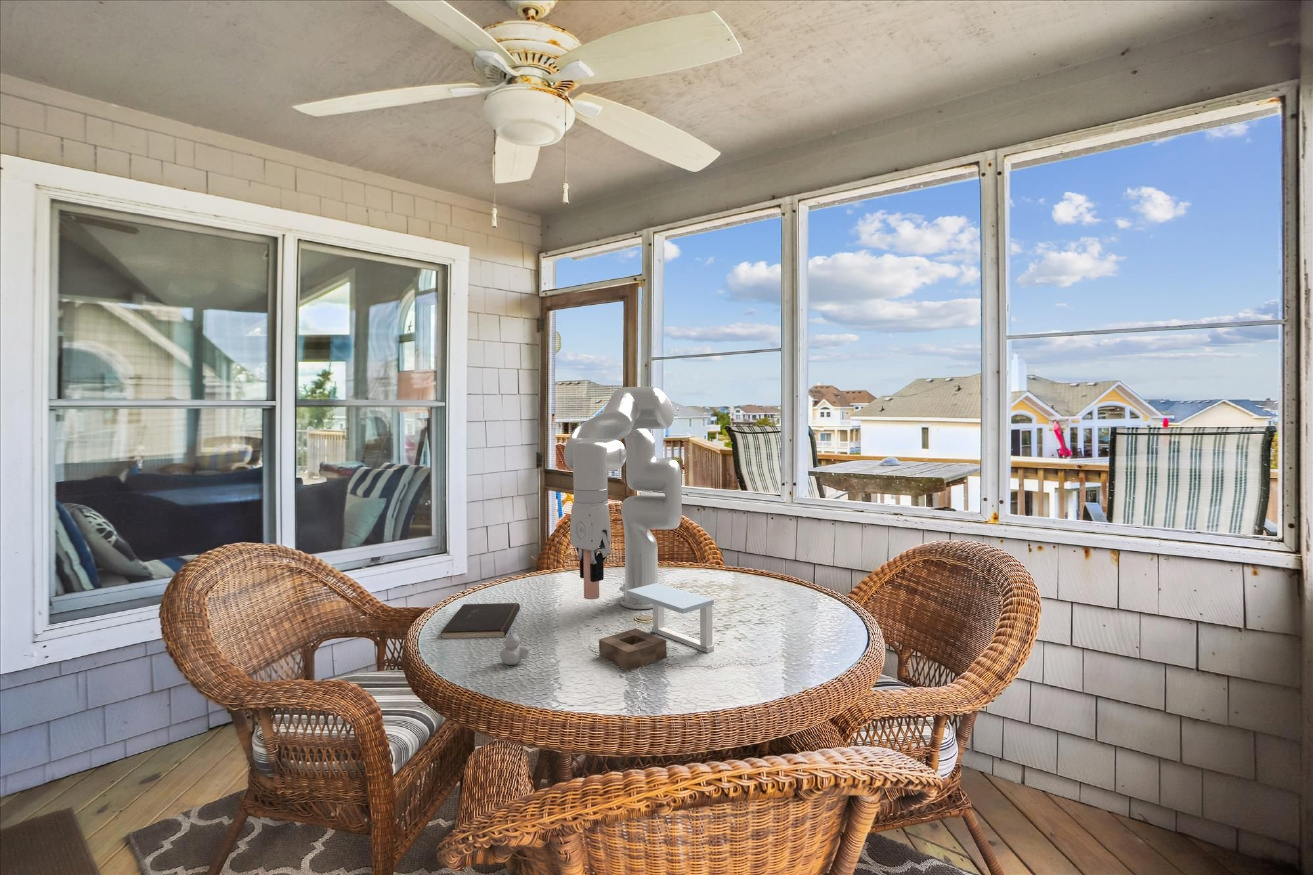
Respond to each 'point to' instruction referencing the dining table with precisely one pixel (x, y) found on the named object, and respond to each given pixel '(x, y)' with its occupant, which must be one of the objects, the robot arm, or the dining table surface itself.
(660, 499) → the robot arm
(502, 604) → the hardcover book
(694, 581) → the dining table surface
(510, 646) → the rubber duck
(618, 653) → the socket block
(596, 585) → the peg
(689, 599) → the small white step stool
